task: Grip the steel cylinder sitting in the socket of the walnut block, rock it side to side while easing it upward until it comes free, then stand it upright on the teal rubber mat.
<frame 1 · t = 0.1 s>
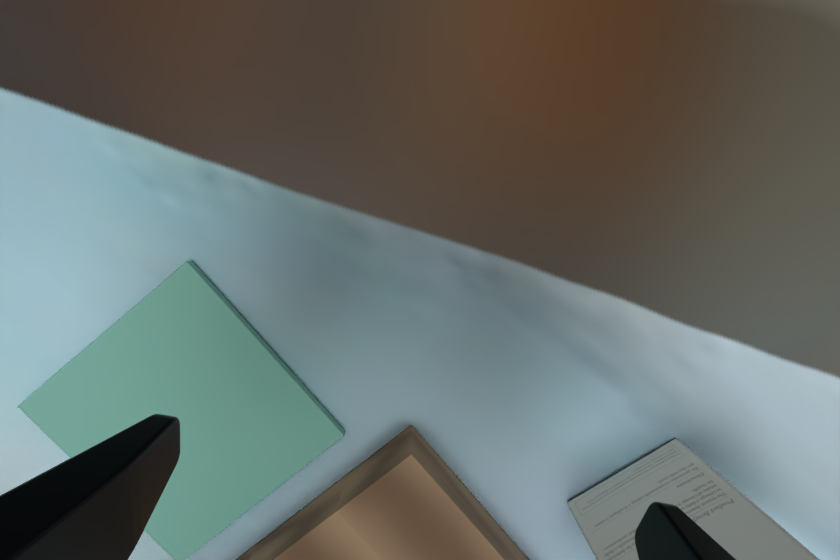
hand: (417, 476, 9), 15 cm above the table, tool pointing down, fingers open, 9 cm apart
supplement box: (649, 514, 26), on the table
teal mat: (187, 416, 25), on the table
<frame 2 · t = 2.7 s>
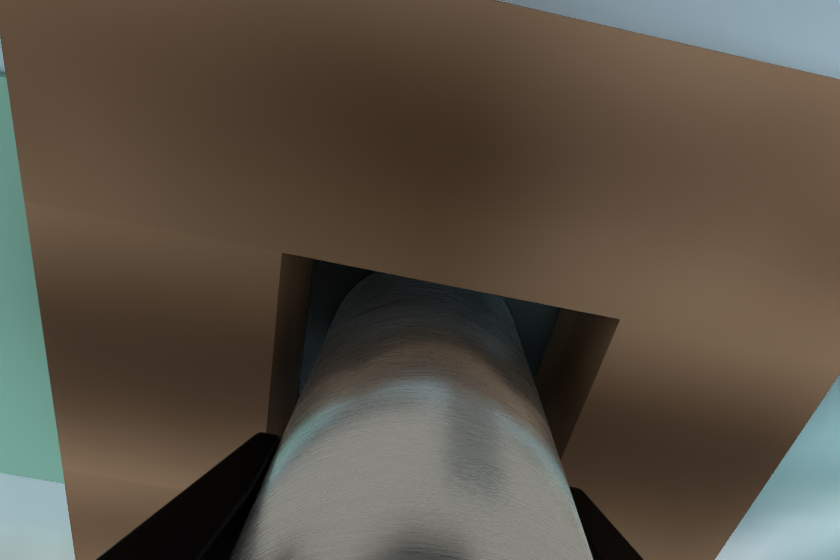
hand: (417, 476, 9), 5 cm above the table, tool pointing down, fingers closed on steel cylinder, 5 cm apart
steel cylinder: (418, 462, 9), in the socket block, touching gripper
socket block: (423, 348, 13), on the table
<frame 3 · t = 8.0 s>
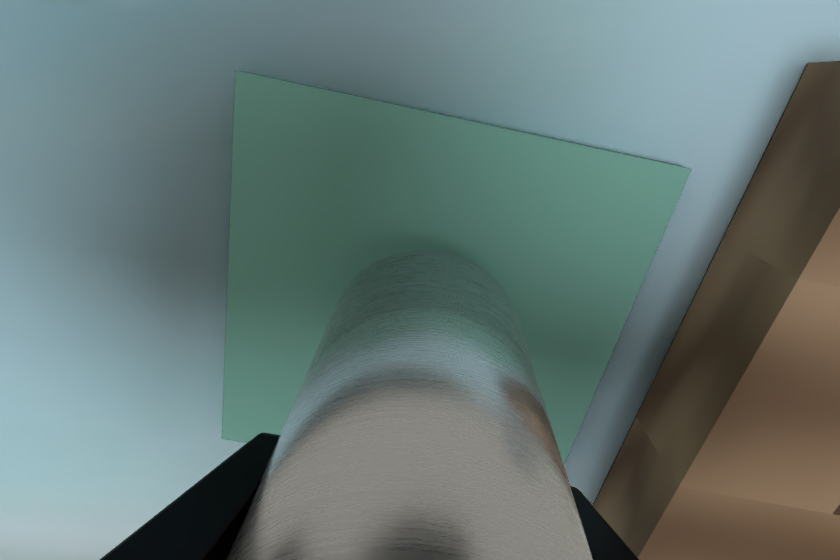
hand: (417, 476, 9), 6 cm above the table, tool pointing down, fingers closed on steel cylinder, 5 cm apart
steel cylinder: (418, 452, 9), point 6 cm above the table, touching gripper
teal mat: (423, 315, 15), on the table
when the fingers open (6 cm above the table, at t = 8.3 s): steel cylinder drops 1 cm, resting on teal mat.
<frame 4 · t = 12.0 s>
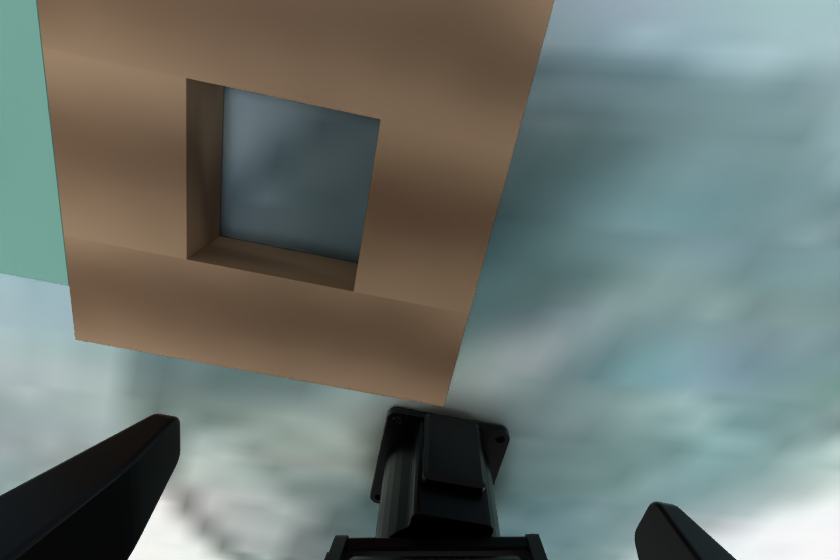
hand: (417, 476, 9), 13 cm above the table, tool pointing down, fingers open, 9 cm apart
socket block: (299, 178, 20), on the table
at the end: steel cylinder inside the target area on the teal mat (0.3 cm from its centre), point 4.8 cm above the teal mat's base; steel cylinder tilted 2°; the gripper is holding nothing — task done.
